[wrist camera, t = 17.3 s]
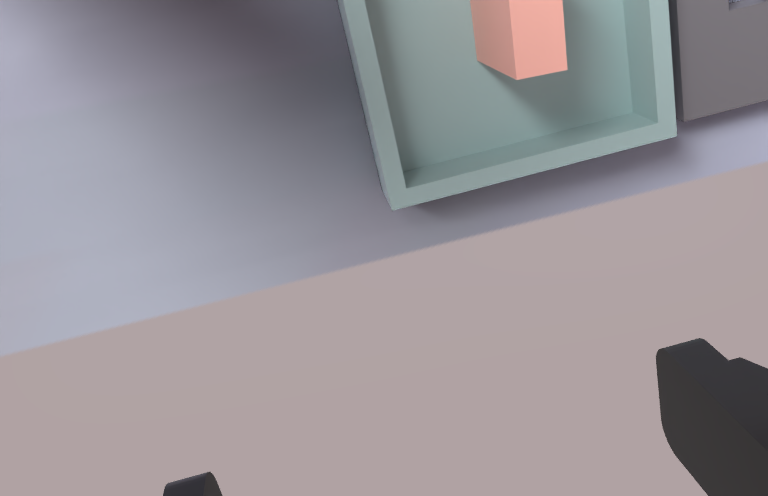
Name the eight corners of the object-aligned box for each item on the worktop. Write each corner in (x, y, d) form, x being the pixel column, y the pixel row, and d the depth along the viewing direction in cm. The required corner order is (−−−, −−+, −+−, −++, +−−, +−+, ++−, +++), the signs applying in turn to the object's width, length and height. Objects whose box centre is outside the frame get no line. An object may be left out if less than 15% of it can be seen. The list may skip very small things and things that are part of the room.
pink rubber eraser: (462, -58, 37) (502, -62, 31) (508, -67, 37) (557, -72, 31) (477, 60, 40) (516, 80, 33) (519, 52, 40) (567, 69, 33)
